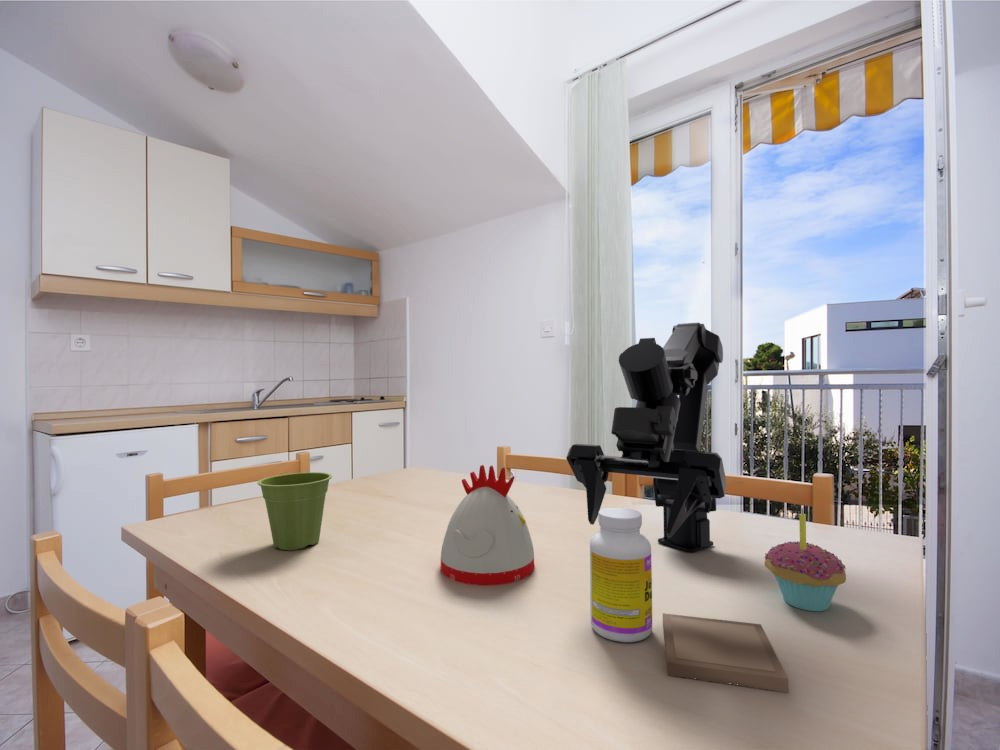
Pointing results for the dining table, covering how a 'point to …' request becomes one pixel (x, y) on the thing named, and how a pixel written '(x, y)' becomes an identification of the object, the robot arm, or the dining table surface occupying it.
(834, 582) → the cupcake
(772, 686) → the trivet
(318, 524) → the plant pot
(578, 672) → the dining table surface
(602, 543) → the supplement bottle
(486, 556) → the kitchen timer
